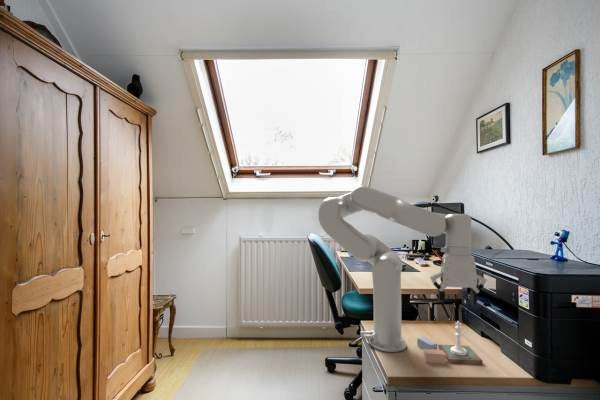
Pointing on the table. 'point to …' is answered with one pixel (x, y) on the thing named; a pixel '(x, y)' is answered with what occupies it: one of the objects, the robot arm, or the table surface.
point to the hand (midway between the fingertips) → (457, 303)
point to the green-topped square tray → (454, 358)
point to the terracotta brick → (434, 356)
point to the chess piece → (458, 342)
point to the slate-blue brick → (426, 343)
